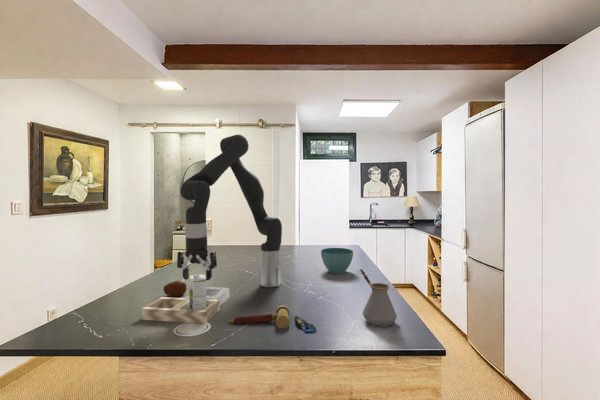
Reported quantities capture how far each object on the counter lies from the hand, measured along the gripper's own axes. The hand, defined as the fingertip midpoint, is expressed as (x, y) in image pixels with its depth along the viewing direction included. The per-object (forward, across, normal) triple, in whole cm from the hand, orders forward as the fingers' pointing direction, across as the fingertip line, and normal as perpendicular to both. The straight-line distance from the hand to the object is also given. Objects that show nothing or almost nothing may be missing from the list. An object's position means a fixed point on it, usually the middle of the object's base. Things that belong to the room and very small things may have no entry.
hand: (197, 279), depth 110 cm
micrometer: (+14, -40, +3) cm, 42 cm away
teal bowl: (+15, -50, -68) cm, 85 cm away
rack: (+13, +6, 0) cm, 15 cm away
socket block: (+14, +2, -14) cm, 20 cm away
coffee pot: (+14, -64, -8) cm, 66 cm away
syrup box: (+14, 0, 0) cm, 14 cm away
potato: (+14, +20, -19) cm, 31 cm away
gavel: (+14, -24, +2) cm, 28 cm away
